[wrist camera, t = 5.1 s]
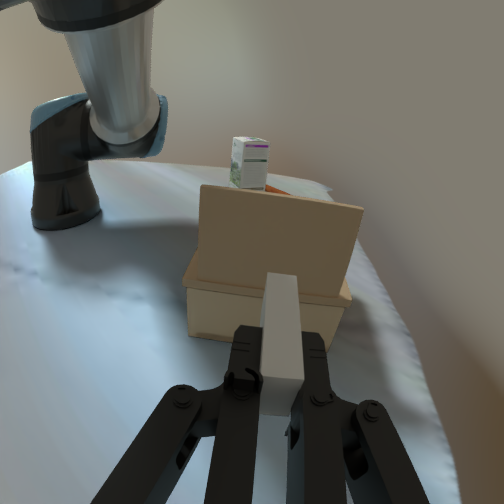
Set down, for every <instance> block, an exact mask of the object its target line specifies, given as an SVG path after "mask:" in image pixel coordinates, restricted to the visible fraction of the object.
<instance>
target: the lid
mask: <svg viewBox="0 0 504 504" xmlns="http://www.w3.org/2000/svg"><path fill="white" fill-rule="evenodd" d="M363 212H364V209H363V208H362V207H359V206H353V205H348V204H342V203H336V202H330V201H324V200H318V199H312V198H306V197H299V196H292V195H285V194H278V193H271V192H263V191H256V190H248V189H239V188H231V187H222V186H212V185H201V186H200V203H199V230H198V247H197V249H196V251H195V253H194V255H193V257H192V259H191V261H190V263H189V265H188V267H187V269H186V271H185V274H184V276H183V278H182V286H184V287H191V288H197V289H204V290H210V291H217V292H224V293H231V294H238V295H246V296H253V297H261V298H263V297H264V291H265V285H266V279H267V273H268V272H271V273H278V274H286V275H294V276H297V287H298V298H299V302H302V303H311V304H321V305H330V306H340V307H350V306H351V303H352V297H351V294H350V291H349V288H348V285H347V282H346V279H345V275H346V272H347V268H348V265H349V262H350V259H351V255H352V252H353V248H354V245H355V241H356V238H357V234H358V231H359V227H360V223H361V219H362V216H363Z"/></svg>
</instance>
